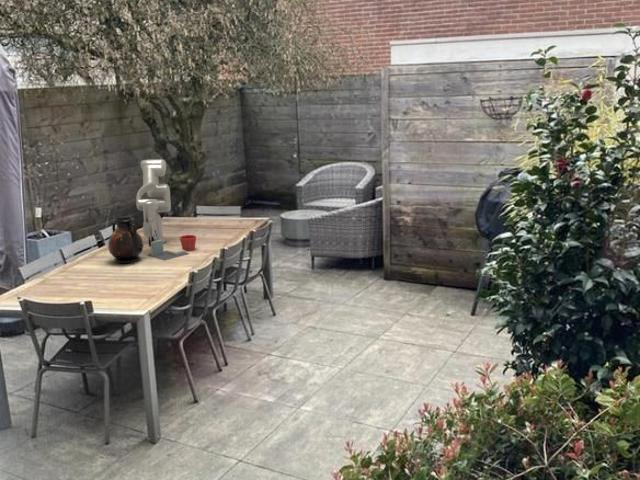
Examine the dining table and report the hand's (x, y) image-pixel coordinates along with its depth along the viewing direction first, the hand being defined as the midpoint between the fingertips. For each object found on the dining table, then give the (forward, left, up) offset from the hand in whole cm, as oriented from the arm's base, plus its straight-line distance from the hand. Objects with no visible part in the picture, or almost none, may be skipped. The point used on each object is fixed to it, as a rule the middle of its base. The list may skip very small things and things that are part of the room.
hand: (151, 246), depth 402 cm
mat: (+11, +5, -6) cm, 13 cm away
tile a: (+7, +11, -4) cm, 13 cm away
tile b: (+6, 0, -5) cm, 8 cm away
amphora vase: (+1, -20, -6) cm, 21 cm away
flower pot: (+11, +22, -6) cm, 25 cm away
